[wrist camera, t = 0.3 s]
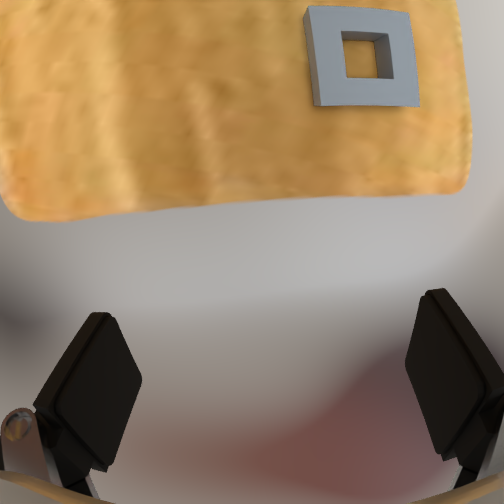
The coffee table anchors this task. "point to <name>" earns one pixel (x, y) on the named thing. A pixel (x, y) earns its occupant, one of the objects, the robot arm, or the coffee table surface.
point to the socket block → (386, 50)
